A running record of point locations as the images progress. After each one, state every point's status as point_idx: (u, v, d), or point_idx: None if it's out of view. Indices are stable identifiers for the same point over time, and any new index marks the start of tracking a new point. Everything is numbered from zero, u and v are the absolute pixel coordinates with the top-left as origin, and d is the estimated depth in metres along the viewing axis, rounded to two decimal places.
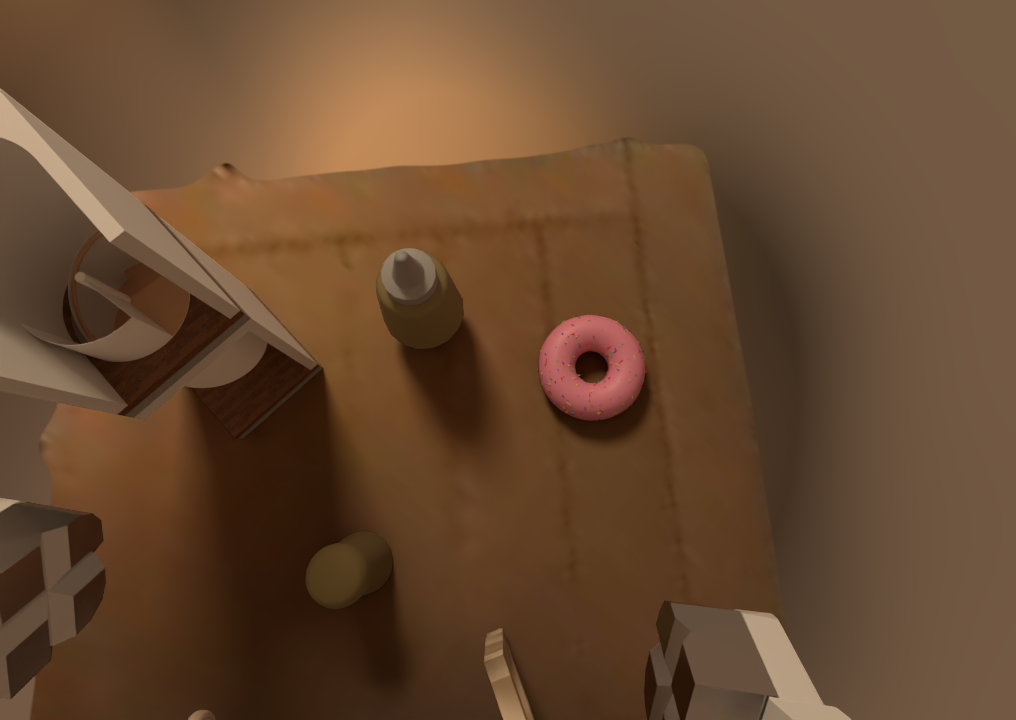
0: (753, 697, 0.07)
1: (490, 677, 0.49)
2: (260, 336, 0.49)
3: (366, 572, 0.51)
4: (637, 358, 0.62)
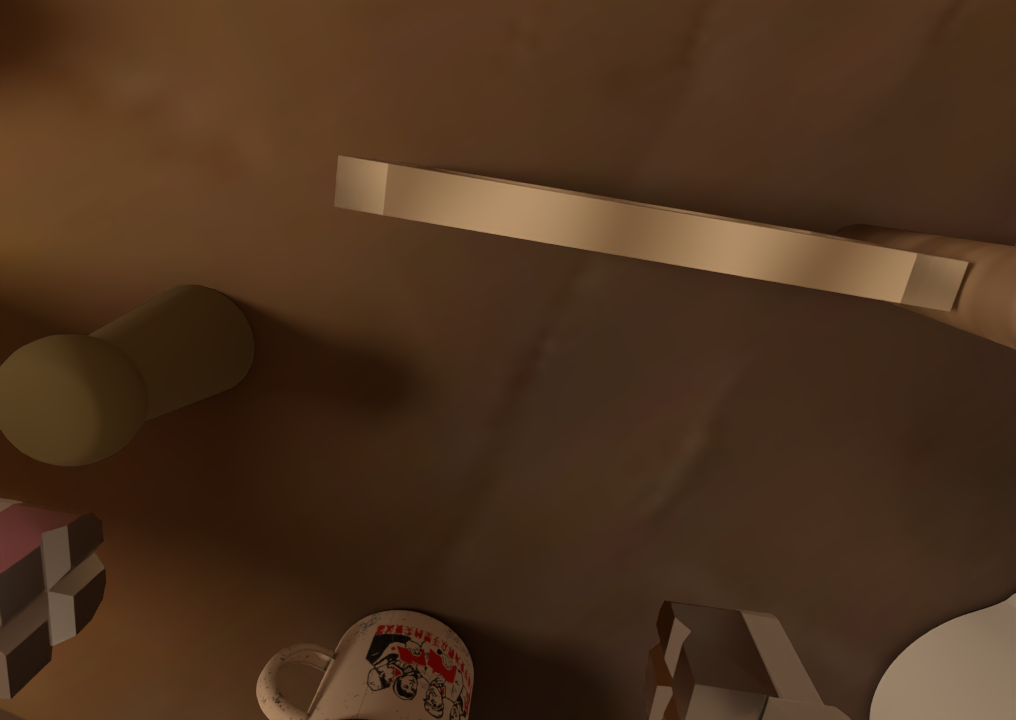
0: (753, 697, 0.07)
1: (371, 209, 0.20)
2: None
3: (72, 348, 0.23)
4: None
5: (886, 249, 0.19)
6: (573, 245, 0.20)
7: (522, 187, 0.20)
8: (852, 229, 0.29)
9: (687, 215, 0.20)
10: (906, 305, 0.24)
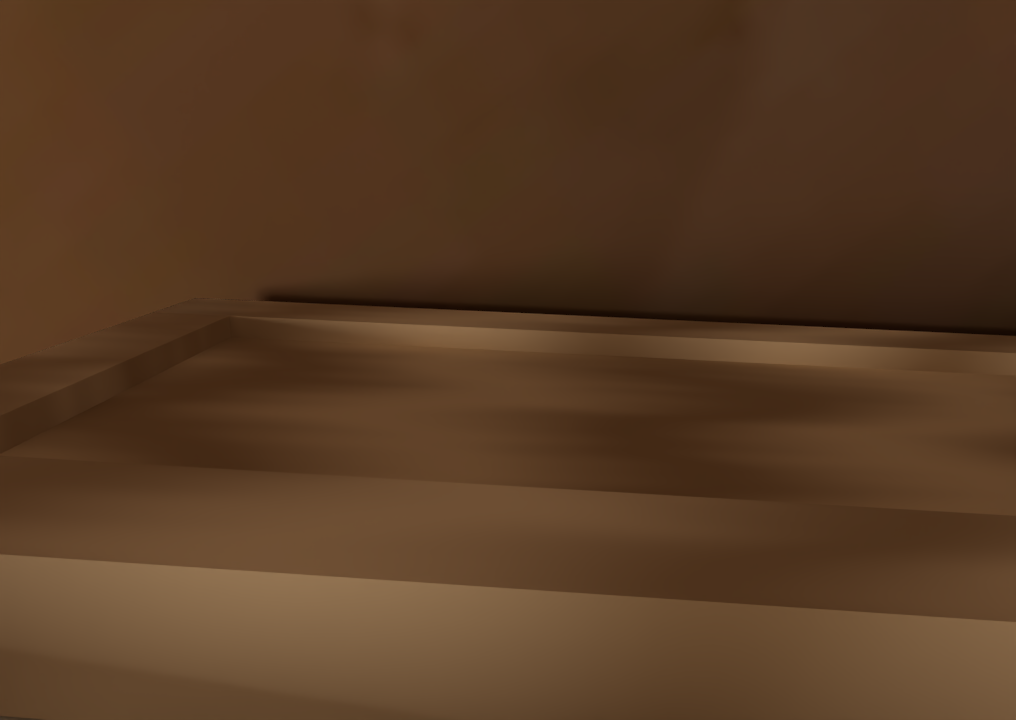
0: None
1: None
2: None
3: None
4: None
5: None
6: None
7: (258, 572, 0.05)
8: None
9: (969, 623, 0.04)
10: None
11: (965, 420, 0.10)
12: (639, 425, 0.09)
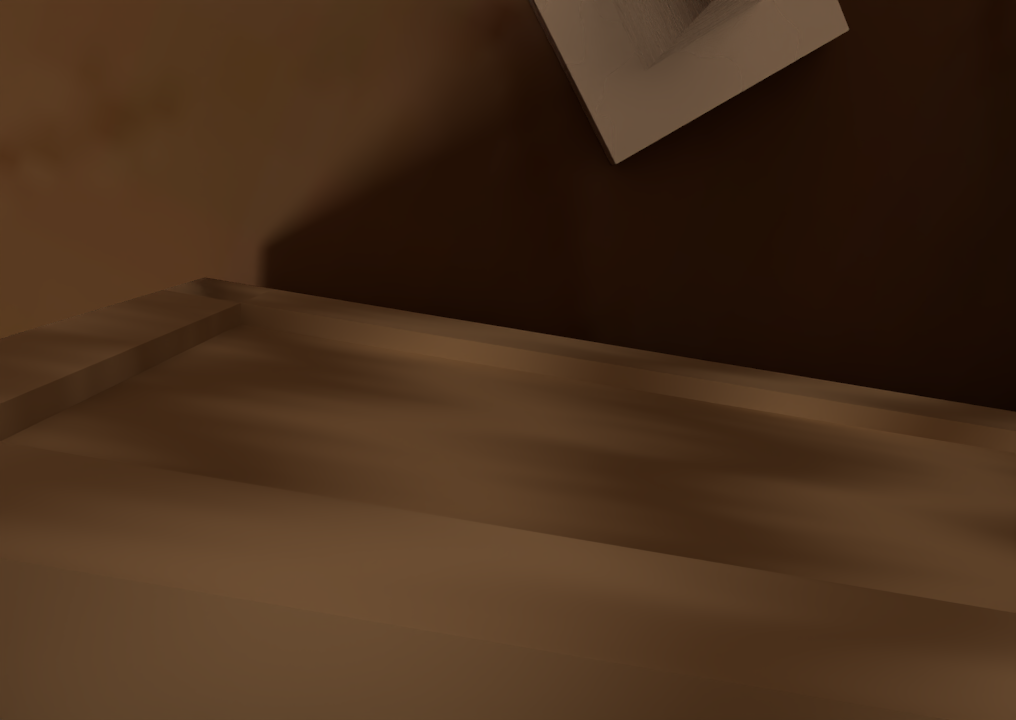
0: None
1: None
2: None
3: None
4: None
5: None
6: None
7: (294, 608, 0.05)
8: None
9: None
10: None
11: (960, 496, 0.10)
12: (652, 469, 0.09)
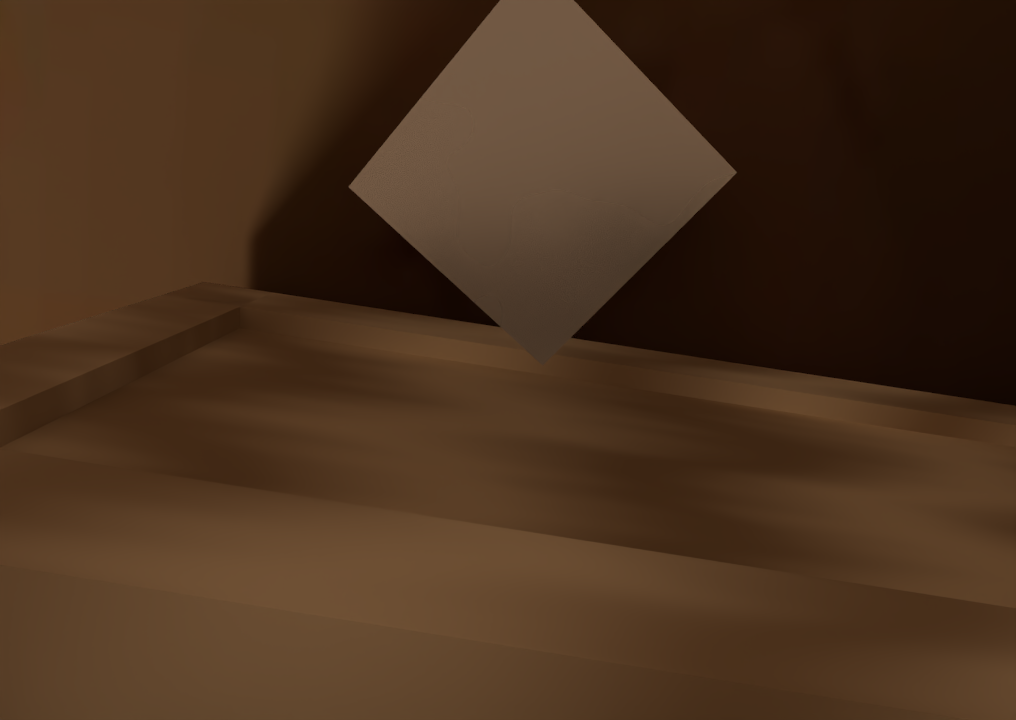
0: None
1: None
2: None
3: None
4: None
5: None
6: None
7: (291, 611, 0.05)
8: None
9: None
10: None
11: (961, 491, 0.10)
12: (650, 468, 0.09)
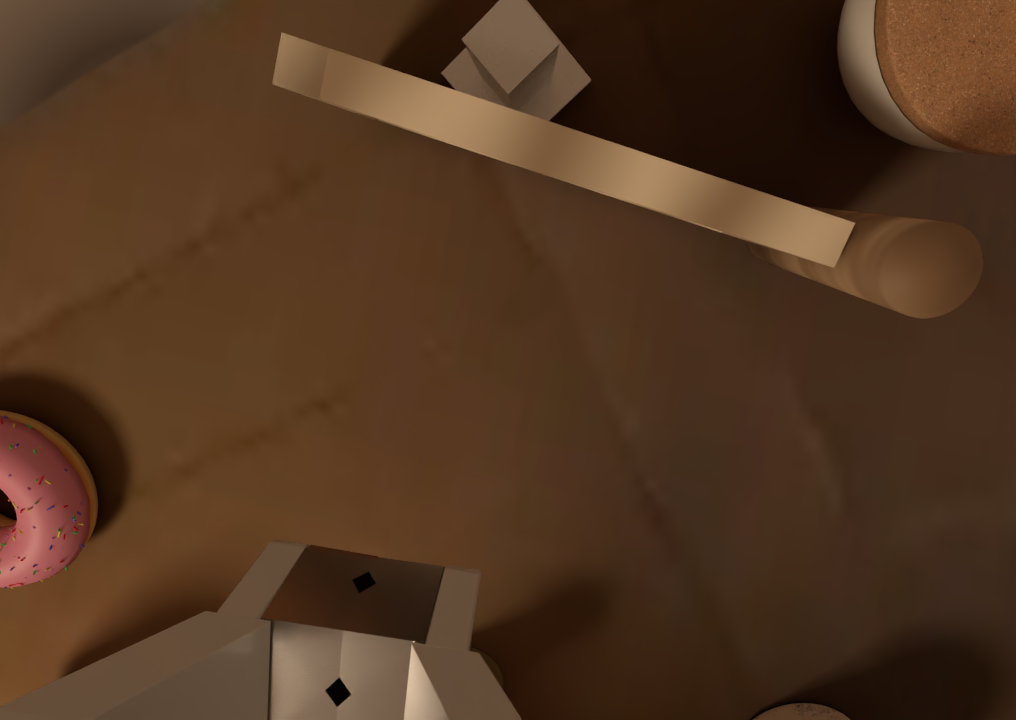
0: (402, 643, 0.07)
1: (308, 92, 0.21)
2: None
3: None
4: None
5: (784, 200, 0.21)
6: (499, 156, 0.21)
7: (456, 91, 0.20)
8: None
9: (608, 142, 0.21)
10: None
11: None
12: None
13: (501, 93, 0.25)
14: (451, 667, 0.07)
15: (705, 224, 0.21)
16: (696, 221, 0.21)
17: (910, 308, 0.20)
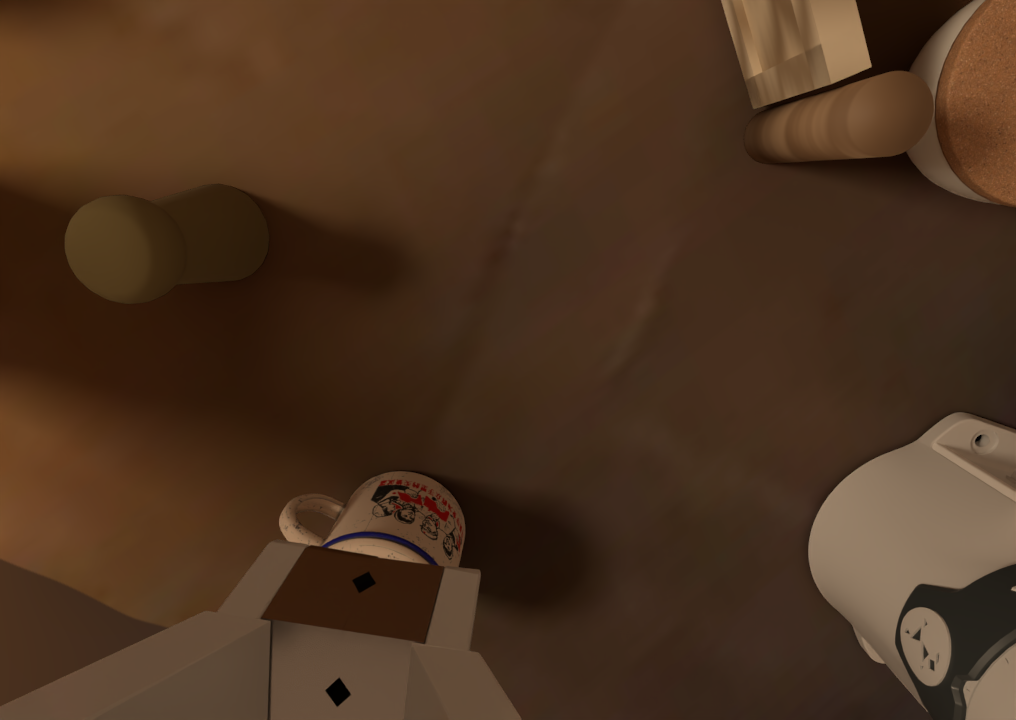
0: (402, 643, 0.07)
1: None
2: None
3: (128, 201, 0.29)
4: None
5: (854, 0, 0.24)
6: None
7: None
8: (765, 110, 0.34)
9: None
10: (796, 151, 0.29)
11: None
12: None
13: None
14: (451, 667, 0.07)
15: None
16: None
17: (857, 126, 0.23)
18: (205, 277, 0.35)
